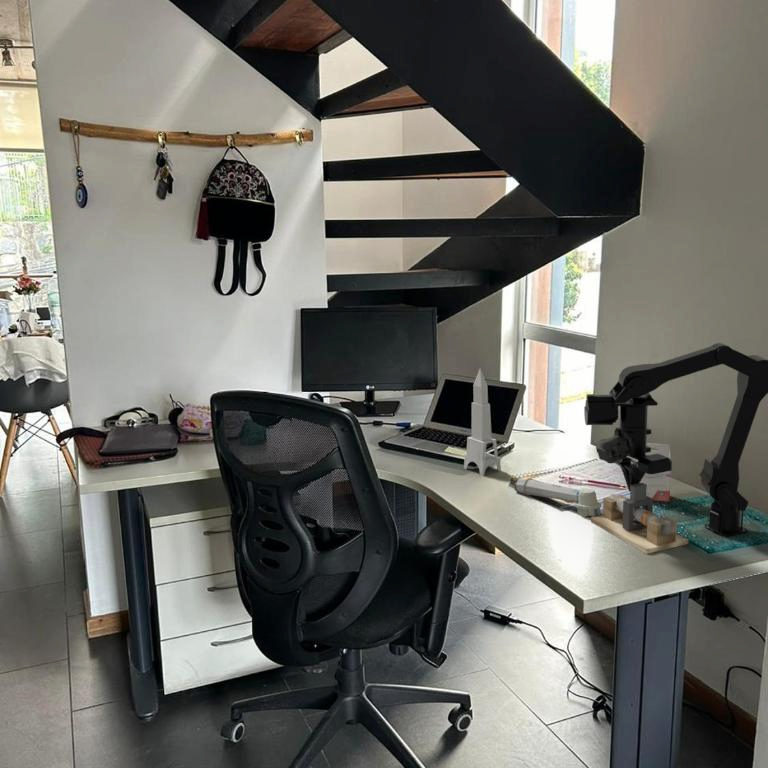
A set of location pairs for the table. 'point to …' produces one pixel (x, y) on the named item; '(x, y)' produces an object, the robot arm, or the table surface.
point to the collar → (636, 500)
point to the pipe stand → (645, 539)
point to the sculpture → (481, 429)
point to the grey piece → (561, 495)
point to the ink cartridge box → (658, 477)
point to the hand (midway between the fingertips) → (631, 491)
